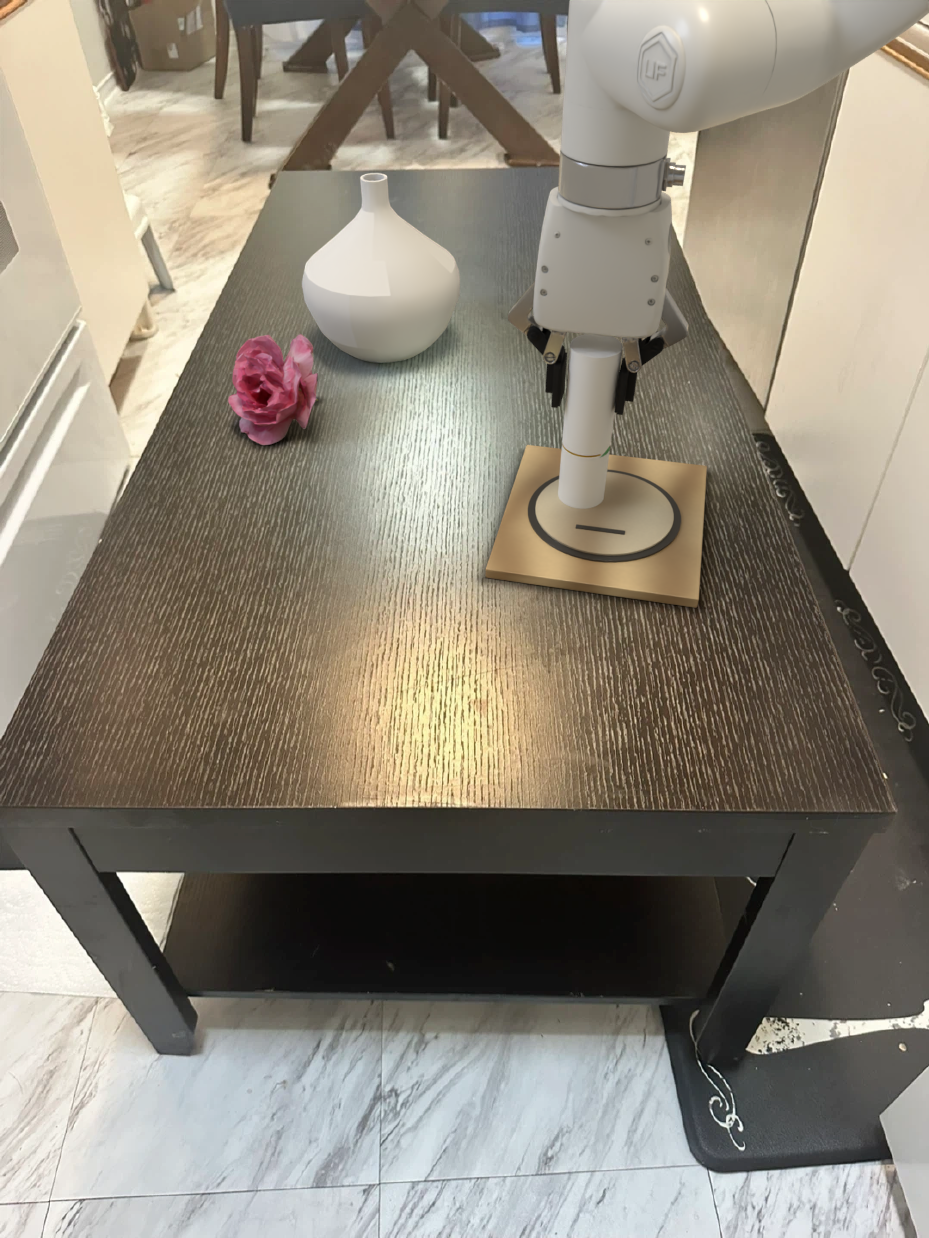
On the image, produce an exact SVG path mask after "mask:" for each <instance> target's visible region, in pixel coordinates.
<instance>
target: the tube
mask: <svg viewBox="0 0 929 1238" xmlns="http://www.w3.org/2000/svg"><path fill="white" fill-rule="evenodd" d="M623 349H624V348H623V342H622V341H620V339H618V338H617V337H612V336H601V335H590V334H580V335H578V336H575V337H574V338H572V339H571V340H570V343H569V354H568V363H567V364H568V366H567V375H566V387H565V388H566V389H565V390H566V391H565V401H564V402H565V403H564V416H563V425H562V426H563V427H562V437H561V438H562V439H561V449H562V450H561V463H560V475H559V487H558V497H559V499H560V500H561V501H562V502H563V503H564V504H566V505H568V506H570V507H573V508H579V509H587V508H592V507H595V506H597V505H599V504H600V503H601V502H602V501H603V499H604V492H605V484H606V476H607V468H608V460H609V454H610V451H611V444H612V435H613V428H614V420H615V404H616V396H617V388H618V379H619V372H620V368H621V363H622V355H623Z"/></svg>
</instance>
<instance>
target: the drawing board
mask: <svg viewBox="0 0 929 1238" xmlns="http://www.w3.org/2000/svg"><path fill="white" fill-rule="evenodd" d="M561 450H562V448H559V447H558V448H557V447H550V446H549V447H548V446H542V445H541V446H540V445H532V444H526V446H525V449H524V450H523V454H522V458H521V460H520V463H519V467H518V469H517V470H518V471H517V472H516V476H515V478H514V481H513V484H512V488H511V491H510V494H509V497H508V500H507V503H506V506H505V509H504V511H503V515H502V518H501V521H500V524H499V527H498V530H497V533H496V535H495V540H494V543H493V545H492V548H491V552H490V555H489V558H488V561H487V564H486V567H485V578H486V579H494V580H501V581H507V582H514V583H520V584H521V583H522V584H529V585H536V586H541V587H549V588H556V589H561V590H563V589H564V590H570V591H575V592H576V591H577V592H583V593H592V594H599V595H603V596H611V597H619V598H624V599H625V598H626V599H631V600H639V601H645V602H653V603H660V604H668V605H672V606H673V605H675V606H681V607H688V608H695V609H696V608H697V607H698V604H699V600H700V587H701V568H702V553H703V552H702V551H703V537H704V523H705V522H704V520H705V505H706V504H705V503H706V490H707V489H706V487H707V472H708V465H703V464H694V463H687V462H677V461H668V460H662V459H661V460H660V459H653V458H652V459H651V458H642V457H634V456H627V455H619V454H610V453H609V460H608V468H607V476H606V484H605V492H604V499H603V501H602V502H601V503H600V504H599V505H597V506H595V507H592V508H587V509H579V508H573V507H570V506H568V505H566V504H564V503H563V502H562V501H561V500H560V499H559V497H558V487H559V475H560V463H561Z"/></svg>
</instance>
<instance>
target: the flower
mask: <svg viewBox="0 0 929 1238" xmlns="http://www.w3.org/2000/svg"><path fill="white" fill-rule="evenodd" d="M289 348H290V349H289V351H288V352H287V354H286V356H285V359H284V354H283V351H282V348H281V347H280V346H279V344H278V343H277V342H276V341H275V340H274V338H273V337H272V336H271V335H270V334H265V335H259V336H256V337H251V338H248V339H246V341H244V343H243V344H242V346H241V347H239V349H238V351H237V352H236V355H235V357H236V358H235V360H234V366H233V370H232V379H231V380H232V384H233V386H234V389H235V390H236V393H233V394H231V395H229V396H228V399H227V401H228V402H227V403H228V404H229V406H230V407H231V409H232V411H233V412H235V415H237V416H239V417H240V420H239V424H238V426H239V429H240V433H245V434H246V435H247V437H248V439H250V440H251V441H253V442H255V443H257V444H259V445H260V446H269V445H272V444H275V443H277V442H280V441H282V440H283V439H284V438H285V437H286V435H287V433H288V431H289V428H290V426H291V424H292V422H293V421H296V422H297V424H298V425H299V426H300V427H301V428H302V429H304V430H305V429H307V427H308V426H309V425H308V424H309V421H310V417H311V414H312V413H311V412H312V410H313V407H314V404H315V402H316V401H319V399H318V398H317V390H318V389H317V388H318V382H319V381H318V380H319V373H318V372H316V373H313V367H314V364H315V363H314V362H315V358H314V356H315V355H314V346H313V344H312V342H311V341H310V340H309V339H308V338H307V337H306V336H305V335H303V334H302V333H299V334H297V335H296V337H295V338H292V340H291V342H290V345H289Z"/></svg>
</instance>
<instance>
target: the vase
mask: <svg viewBox="0 0 929 1238" xmlns="http://www.w3.org/2000/svg"><path fill="white" fill-rule="evenodd" d="M359 181H360V182H359V183H360V194H361V207H360V209H359V210H358V212H357V214H356V215H355V217H354V218H353V219H352V220H350V221H349V222H348V224H346V225H345V226H344V227H343V228H342V229H341V230H340V231H338V232H337V233H336V235H334V236H333V238H331V239H330V240H329V241H328V242H326V243H325V244H324V245H323V246H322V247H321V248H319V249H318V250H317V251H315V253H314V254H312V255H311V256H310V257H309V259H308V260H307V261H306V262H305V265H304V270H303V273H302V279H301V287H302V293H303V294H302V295H303V301H304V303H305V305H306V308H307V309H308V311H309V313H310V315H311V317H312V318H313V321H314V322H315V323H316V325H317V327H318V329H319V330H320V333H322V335H323V336H325V338H327V339H328V340H329V341H330V343H332V344H333V345H334V346H335V347H336V348H338V349H339V350H340V351H342V352H344V353H346V354H347V355H349V356H351V357H353V358H356V359H357V360H360V361H364V362H368V363H378V364H382V363H383V364H384V363H385V364H387V363H397V362H403V361H406V360H409V359H412V358H414V357H416V356H418V355H419V354H421V353H423V352H424V351H426V350H428V348H430V347H431V346H432V345H433V344H434V343H436V342H437V341H438V339H439V338H440V337H441V335H443V333H444V332H445V331H446V329H447V328H448V326H449V323H450V321H451V319H452V317H453V315H454V311H455V309H456V307H457V304H458V302H459V299H460V297H461V275H460V270H459V267H458V264H457V262H456V258H455V257H454V256H453V254H451V252H450V251H449V250H448V249H446V248H445V247H443V246H442V245H440V244H439V243H438V242H436V241H434V240H433V239H431V238H430V237H428V236H427V235H426V234H424V233H423V232H421V231H420V230H418V229H417V228H416V227H414V226H413V225H412V224H410V223H409V222H408V221H406V220H405V219H404V218H403V217H401V216H400V215H398V213H396V211H395V209H393V207H392V206H391V203H390V197H389V182H388V176H387V174H384V173H381V172H370V173H364V174H362V175H361V176H360V177H359Z"/></svg>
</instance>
